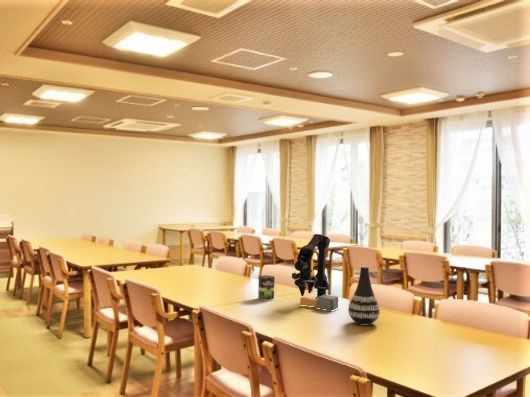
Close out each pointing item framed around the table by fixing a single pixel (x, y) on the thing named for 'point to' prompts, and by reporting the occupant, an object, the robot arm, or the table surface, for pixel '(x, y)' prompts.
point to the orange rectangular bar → (308, 301)
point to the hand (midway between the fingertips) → (305, 294)
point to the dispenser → (327, 302)
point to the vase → (364, 301)
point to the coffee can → (266, 287)
